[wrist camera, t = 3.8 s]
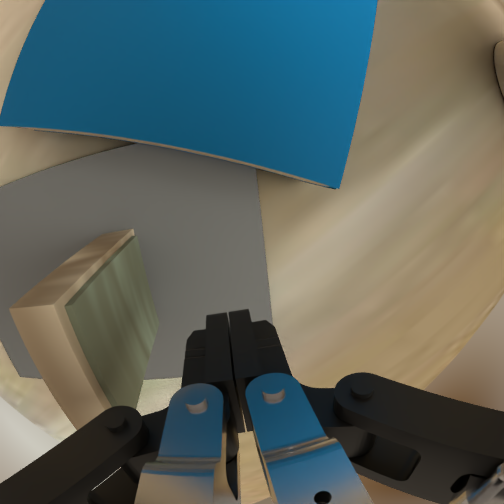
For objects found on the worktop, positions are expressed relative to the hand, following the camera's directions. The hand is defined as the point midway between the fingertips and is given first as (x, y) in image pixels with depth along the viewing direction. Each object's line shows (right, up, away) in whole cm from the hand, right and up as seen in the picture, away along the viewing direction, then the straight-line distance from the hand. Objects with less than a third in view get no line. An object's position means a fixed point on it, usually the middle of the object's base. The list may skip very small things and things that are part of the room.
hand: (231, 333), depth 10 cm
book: (-1, +20, +1) cm, 20 cm away
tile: (-6, +1, +6) cm, 9 cm away
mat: (-9, +1, +6) cm, 11 cm away
